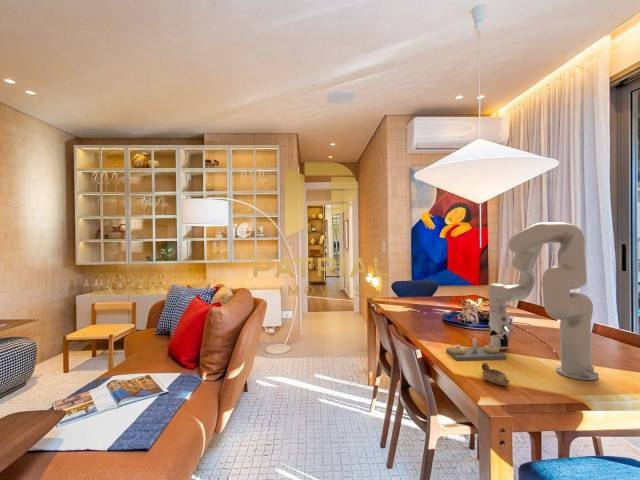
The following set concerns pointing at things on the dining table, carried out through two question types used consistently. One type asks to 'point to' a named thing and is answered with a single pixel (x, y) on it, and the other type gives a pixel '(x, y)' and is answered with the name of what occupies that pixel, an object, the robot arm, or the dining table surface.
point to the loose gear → (497, 341)
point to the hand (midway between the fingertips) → (498, 343)
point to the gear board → (476, 352)
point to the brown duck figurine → (494, 375)
